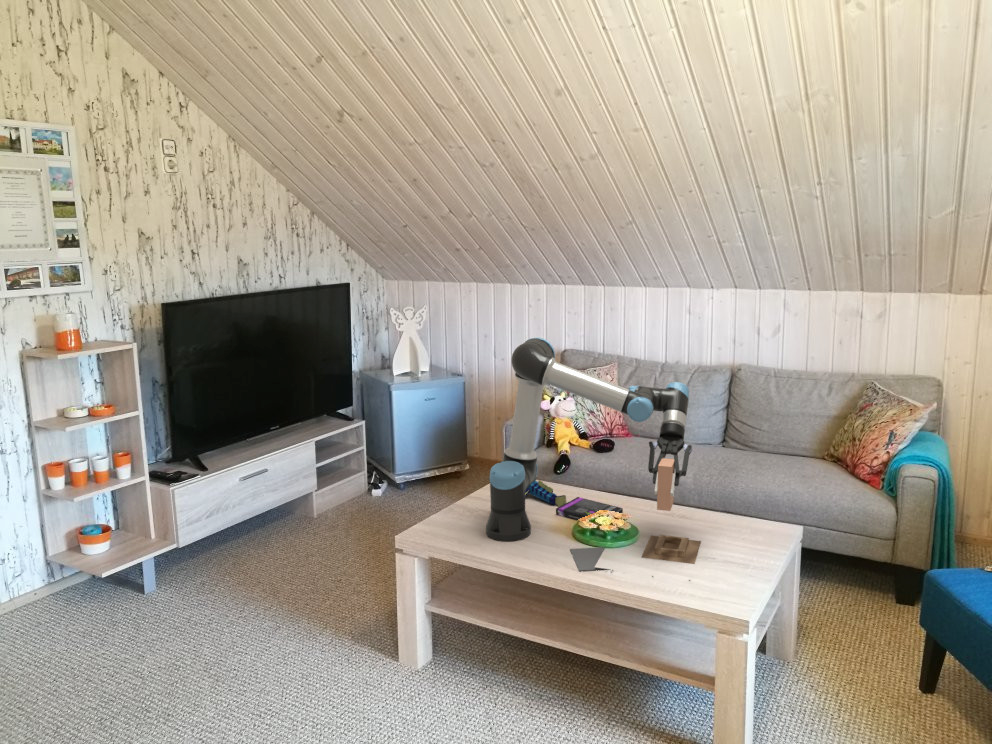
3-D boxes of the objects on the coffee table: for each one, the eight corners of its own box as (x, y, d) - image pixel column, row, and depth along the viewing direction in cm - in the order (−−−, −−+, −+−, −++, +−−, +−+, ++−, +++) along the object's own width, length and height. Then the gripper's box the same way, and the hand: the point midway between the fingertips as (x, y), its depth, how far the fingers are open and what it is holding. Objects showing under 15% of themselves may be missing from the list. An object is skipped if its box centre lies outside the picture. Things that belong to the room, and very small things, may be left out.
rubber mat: (579, 571, 240) (579, 570, 240) (570, 550, 255) (570, 548, 255) (631, 568, 241) (631, 567, 241) (619, 547, 257) (619, 546, 257)
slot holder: (641, 561, 245) (641, 551, 245) (650, 539, 262) (651, 529, 261) (694, 568, 240) (694, 557, 239) (701, 545, 257) (701, 535, 256)
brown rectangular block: (656, 509, 244) (658, 465, 242) (660, 500, 252) (662, 458, 249) (670, 511, 243) (671, 466, 240) (673, 502, 250) (675, 459, 248)
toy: (534, 487, 315) (535, 463, 312) (578, 509, 296) (580, 483, 293) (507, 495, 307) (508, 471, 304) (551, 518, 288) (553, 492, 285)
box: (555, 517, 286) (601, 528, 274) (555, 508, 285) (601, 519, 273) (577, 505, 296) (623, 516, 284) (577, 496, 296) (623, 506, 283)
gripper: (701, 435, 255) (693, 502, 243) (647, 431, 261) (637, 496, 249) (699, 423, 249) (692, 491, 237) (644, 419, 255) (634, 485, 243)
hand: (664, 493), depth 243 cm, fingers closed on brown rectangular block, 4 cm apart
